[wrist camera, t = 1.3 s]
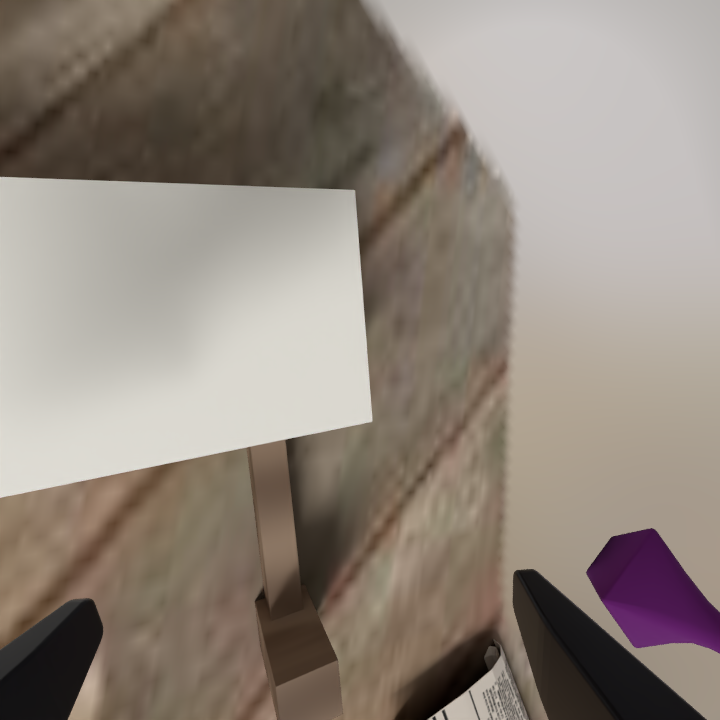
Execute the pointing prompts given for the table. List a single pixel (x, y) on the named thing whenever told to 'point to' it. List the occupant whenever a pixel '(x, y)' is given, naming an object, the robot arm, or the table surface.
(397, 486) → the table surface
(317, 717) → the tan post with foot
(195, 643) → the table surface
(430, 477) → the table surface
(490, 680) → the newspaper
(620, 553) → the perfume bottle
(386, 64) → the table surface
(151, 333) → the low shelf
